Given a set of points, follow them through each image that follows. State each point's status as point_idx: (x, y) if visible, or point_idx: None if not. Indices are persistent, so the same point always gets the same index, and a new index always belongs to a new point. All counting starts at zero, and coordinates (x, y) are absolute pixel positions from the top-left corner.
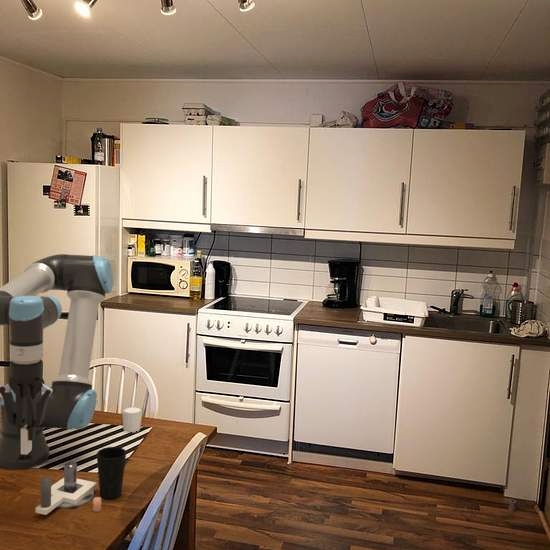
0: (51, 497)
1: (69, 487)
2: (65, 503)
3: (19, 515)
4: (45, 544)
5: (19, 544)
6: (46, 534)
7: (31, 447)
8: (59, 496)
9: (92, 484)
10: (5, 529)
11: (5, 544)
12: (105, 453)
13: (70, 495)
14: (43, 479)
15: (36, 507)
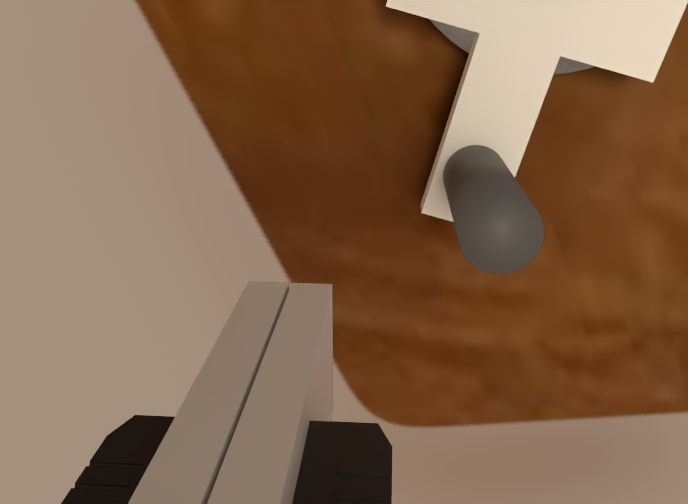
0: (476, 69)
1: None
2: (567, 60)
3: (321, 184)
4: (556, 413)
5: (435, 420)
6: (535, 339)
7: (328, 310)
8: (528, 47)
9: None
10: None
11: None
12: None
13: (605, 21)
14: (481, 242)
15: (424, 204)
